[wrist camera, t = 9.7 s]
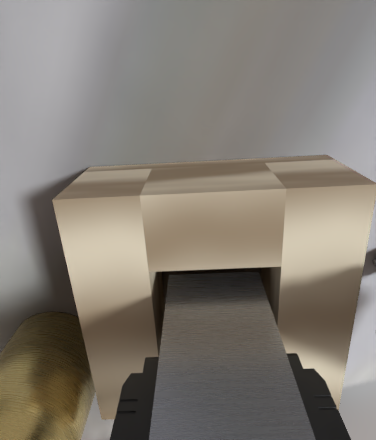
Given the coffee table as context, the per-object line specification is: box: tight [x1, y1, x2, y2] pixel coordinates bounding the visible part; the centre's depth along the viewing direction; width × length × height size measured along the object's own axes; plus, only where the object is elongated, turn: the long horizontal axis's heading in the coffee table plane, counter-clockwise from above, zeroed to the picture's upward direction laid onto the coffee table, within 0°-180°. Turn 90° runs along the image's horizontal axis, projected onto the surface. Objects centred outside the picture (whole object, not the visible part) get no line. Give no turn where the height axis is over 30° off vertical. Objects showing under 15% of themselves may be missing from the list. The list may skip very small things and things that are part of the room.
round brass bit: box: [0, 312, 95, 440], centre depth 17 cm, size 6×6×10 cm
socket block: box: [52, 155, 376, 419], centre depth 17 cm, size 12×12×5 cm
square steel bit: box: [149, 272, 316, 440], centre depth 10 cm, size 4×4×12 cm
